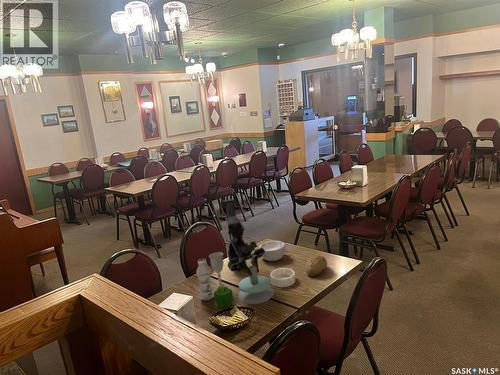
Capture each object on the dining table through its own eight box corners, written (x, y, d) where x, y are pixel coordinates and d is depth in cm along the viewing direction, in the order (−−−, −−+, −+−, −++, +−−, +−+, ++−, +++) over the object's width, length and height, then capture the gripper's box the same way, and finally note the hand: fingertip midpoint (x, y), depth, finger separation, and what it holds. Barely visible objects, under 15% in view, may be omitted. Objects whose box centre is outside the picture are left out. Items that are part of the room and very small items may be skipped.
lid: (236, 293, 161) (233, 275, 159) (242, 277, 175) (240, 260, 173) (268, 292, 158) (266, 274, 156) (272, 276, 172) (270, 259, 170)
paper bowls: (258, 254, 213) (257, 242, 211) (283, 250, 214) (282, 238, 212) (262, 265, 198) (260, 252, 196) (288, 261, 199) (287, 248, 198)
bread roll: (331, 267, 186) (330, 253, 185) (319, 279, 175) (318, 264, 173) (315, 264, 192) (314, 250, 190) (302, 276, 181) (300, 261, 179)
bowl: (269, 288, 172) (269, 279, 171) (272, 276, 184) (271, 268, 183) (294, 287, 170) (293, 279, 169) (295, 275, 181) (294, 267, 180)
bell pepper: (229, 312, 156) (226, 291, 154) (212, 309, 159) (209, 289, 157) (237, 301, 164) (234, 282, 161) (221, 299, 167) (218, 280, 165)
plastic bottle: (201, 296, 172) (194, 258, 168) (214, 294, 172) (209, 256, 168) (200, 303, 166) (193, 264, 161) (214, 301, 166) (208, 262, 162)
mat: (234, 305, 161) (234, 304, 161) (241, 286, 177) (241, 285, 177) (271, 304, 158) (271, 303, 158) (275, 285, 174) (275, 284, 174)
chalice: (216, 293, 173) (211, 259, 169) (211, 287, 179) (206, 255, 175) (230, 288, 176) (225, 255, 173) (224, 283, 182) (220, 250, 179)
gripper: (227, 243, 160) (243, 273, 153) (260, 231, 169) (277, 259, 163) (221, 254, 168) (236, 283, 161) (253, 242, 178) (268, 270, 171)
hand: (255, 274), depth 164 cm, fingers closed on lid, 4 cm apart
